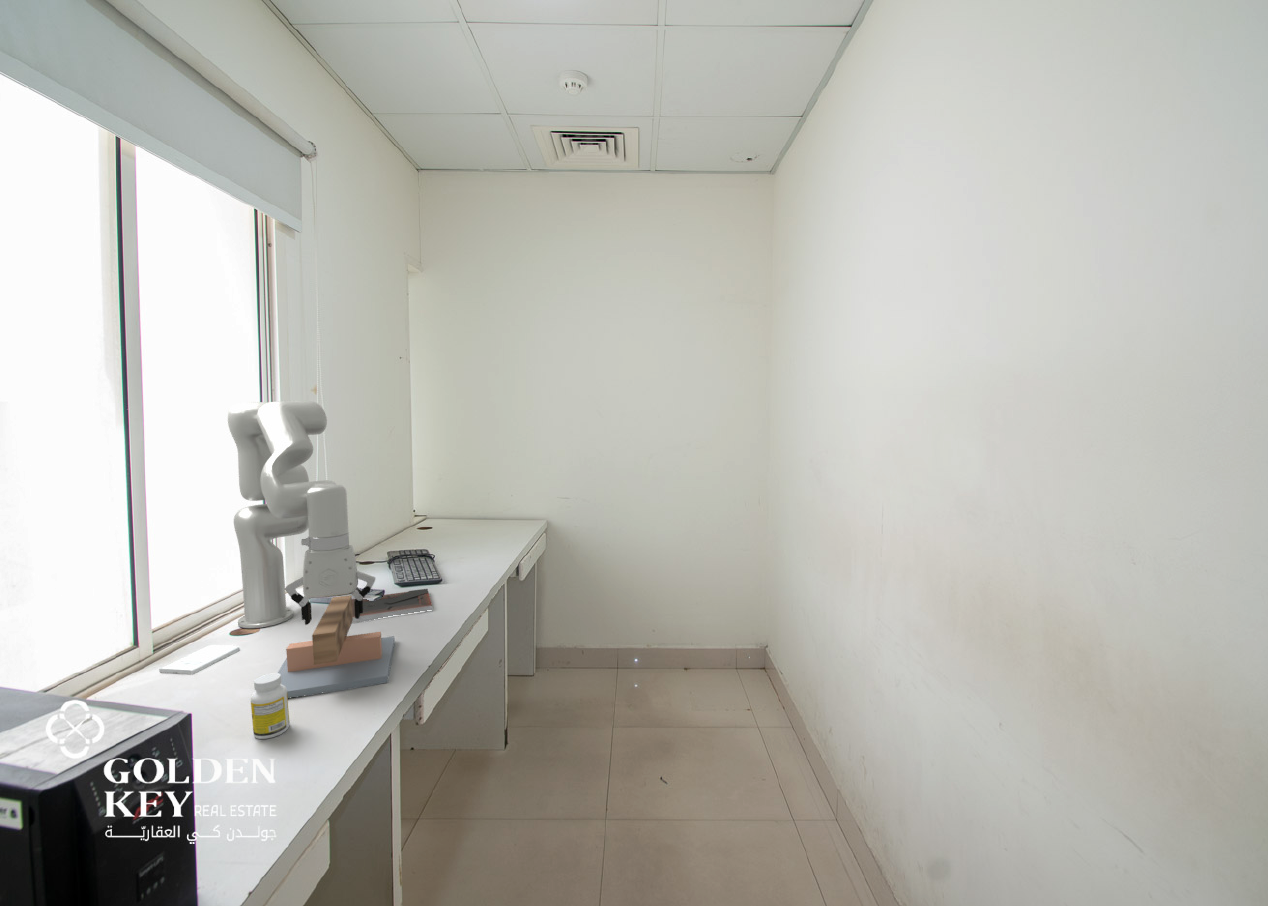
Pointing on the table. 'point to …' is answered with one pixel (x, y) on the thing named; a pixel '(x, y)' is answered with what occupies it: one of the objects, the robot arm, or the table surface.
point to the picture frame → (394, 605)
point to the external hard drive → (199, 659)
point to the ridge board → (338, 666)
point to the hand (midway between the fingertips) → (333, 619)
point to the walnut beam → (332, 630)
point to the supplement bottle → (269, 706)
